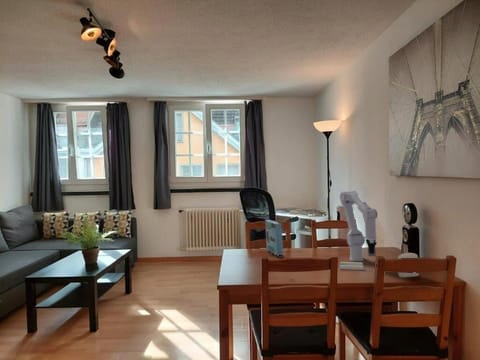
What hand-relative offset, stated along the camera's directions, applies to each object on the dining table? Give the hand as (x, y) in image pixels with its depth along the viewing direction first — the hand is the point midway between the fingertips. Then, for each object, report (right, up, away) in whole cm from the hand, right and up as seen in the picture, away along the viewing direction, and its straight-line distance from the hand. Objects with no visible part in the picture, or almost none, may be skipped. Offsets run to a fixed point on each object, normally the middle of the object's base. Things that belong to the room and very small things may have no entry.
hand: (371, 252), depth 197 cm
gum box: (-53, -10, +43) cm, 68 cm away
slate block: (0, -2, 0) cm, 2 cm away
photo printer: (+12, -9, -19) cm, 24 cm away
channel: (-11, -9, +1) cm, 15 cm away
